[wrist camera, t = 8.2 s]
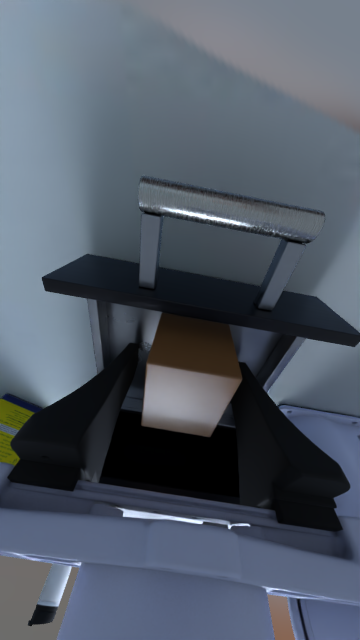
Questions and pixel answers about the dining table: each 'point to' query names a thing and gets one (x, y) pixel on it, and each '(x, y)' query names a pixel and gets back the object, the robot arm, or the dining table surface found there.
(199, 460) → the black and silver box
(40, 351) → the dining table surface
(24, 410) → the supplement box
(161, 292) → the drawer
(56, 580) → the travel mug
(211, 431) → the block
